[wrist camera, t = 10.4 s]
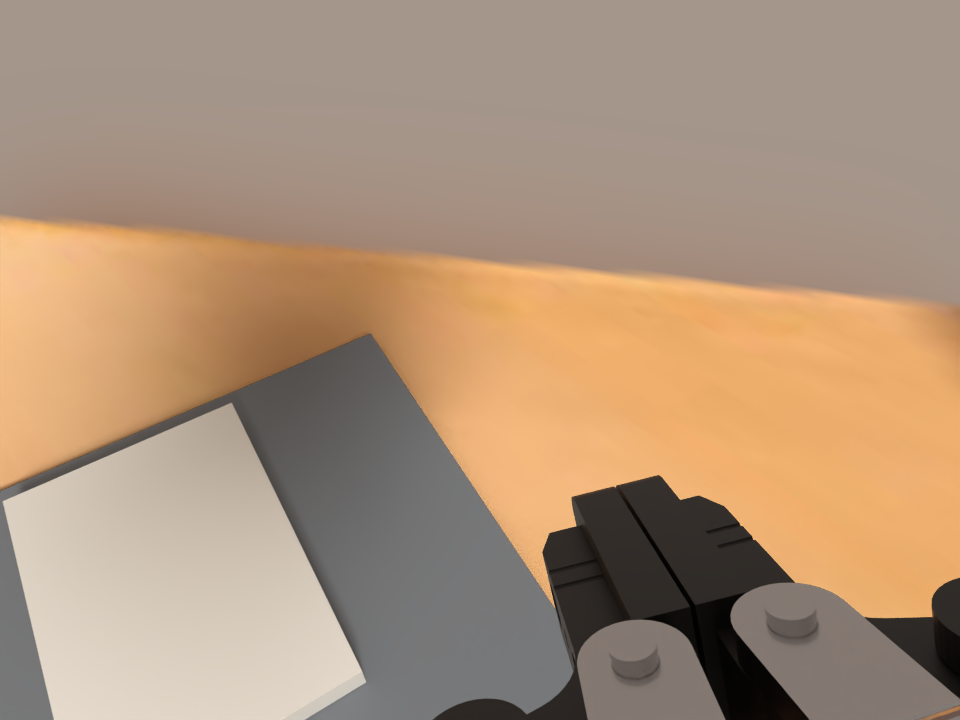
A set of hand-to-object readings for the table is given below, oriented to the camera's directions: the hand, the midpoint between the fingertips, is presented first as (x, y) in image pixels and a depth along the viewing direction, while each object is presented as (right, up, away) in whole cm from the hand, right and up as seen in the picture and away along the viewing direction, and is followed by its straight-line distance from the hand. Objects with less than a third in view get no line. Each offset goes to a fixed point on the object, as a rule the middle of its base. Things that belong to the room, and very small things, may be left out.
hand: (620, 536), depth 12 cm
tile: (-11, -11, +14) cm, 21 cm away
